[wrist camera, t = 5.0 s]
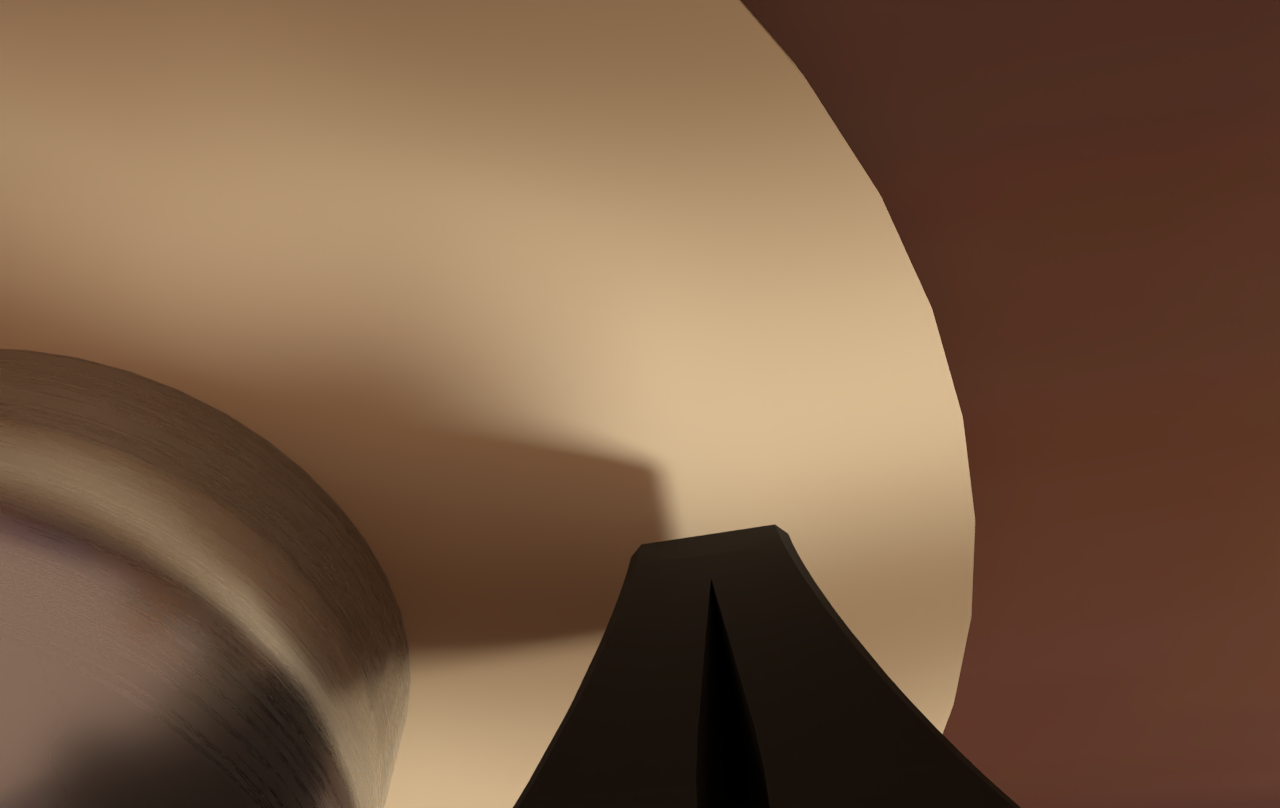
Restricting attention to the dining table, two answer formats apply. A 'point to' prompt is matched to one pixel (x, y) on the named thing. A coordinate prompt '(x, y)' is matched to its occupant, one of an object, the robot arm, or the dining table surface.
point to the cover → (180, 608)
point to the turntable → (502, 313)
